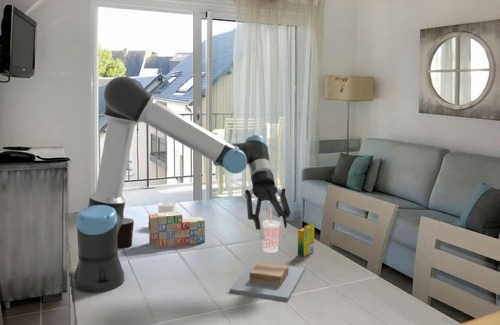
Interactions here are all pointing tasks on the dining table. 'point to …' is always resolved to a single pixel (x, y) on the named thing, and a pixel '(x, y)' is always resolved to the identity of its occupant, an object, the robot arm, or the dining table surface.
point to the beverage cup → (271, 234)
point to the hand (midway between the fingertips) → (273, 237)
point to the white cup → (166, 207)
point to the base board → (267, 290)
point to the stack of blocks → (175, 229)
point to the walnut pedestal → (269, 273)
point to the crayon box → (306, 240)
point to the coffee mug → (125, 234)
